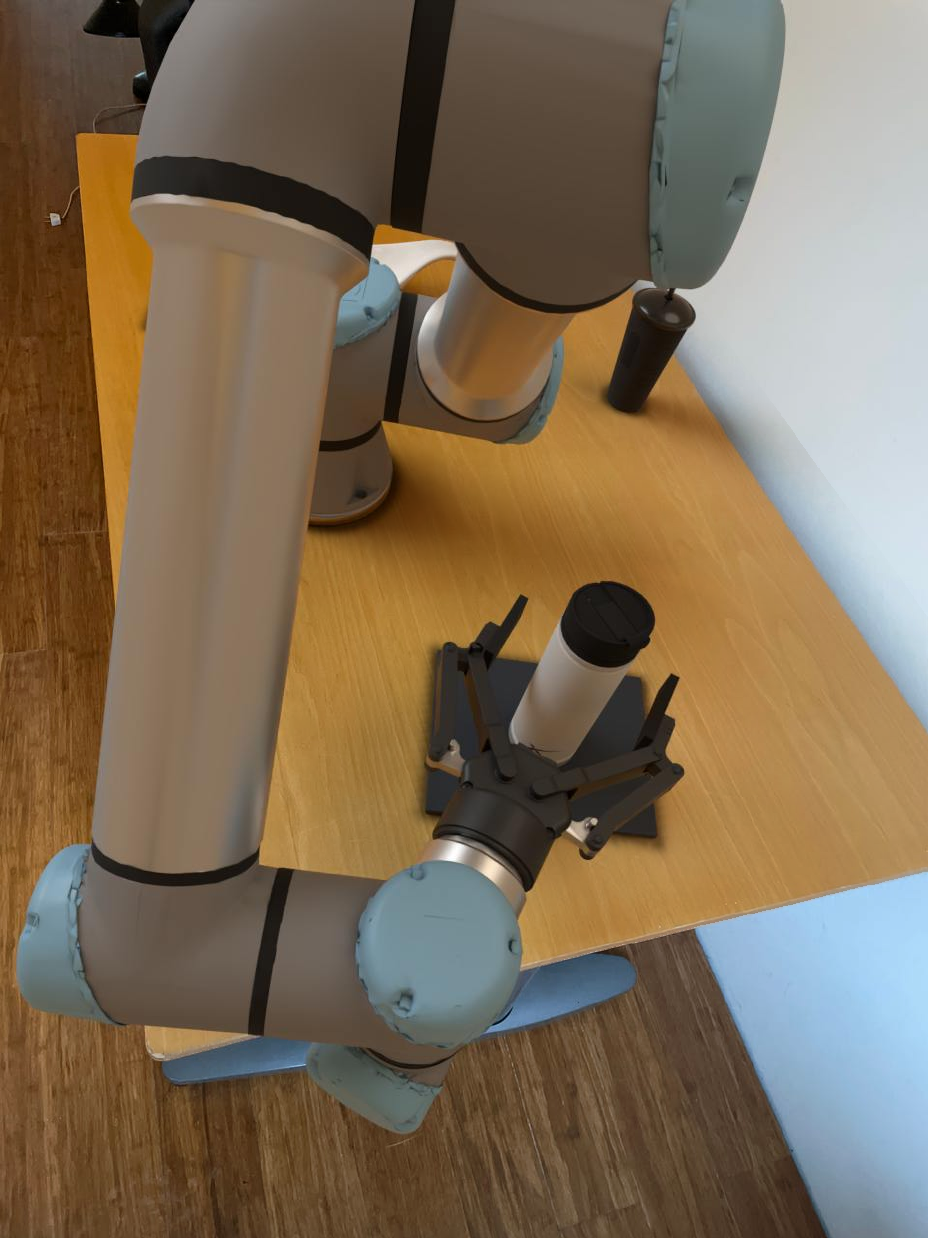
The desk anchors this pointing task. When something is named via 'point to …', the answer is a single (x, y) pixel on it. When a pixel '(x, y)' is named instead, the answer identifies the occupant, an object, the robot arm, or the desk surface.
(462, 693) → the slate mat
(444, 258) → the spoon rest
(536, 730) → the travel mug
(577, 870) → the desk surface
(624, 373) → the drinking cup
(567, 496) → the desk surface
